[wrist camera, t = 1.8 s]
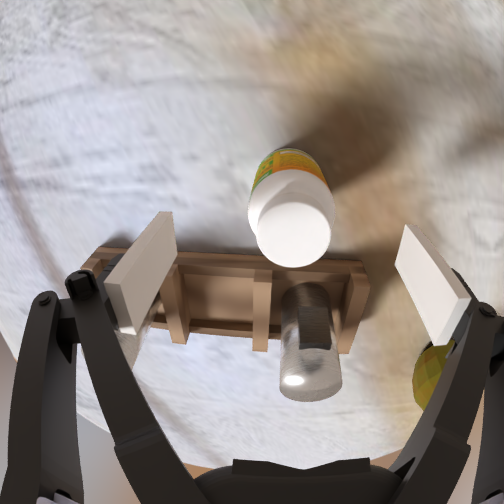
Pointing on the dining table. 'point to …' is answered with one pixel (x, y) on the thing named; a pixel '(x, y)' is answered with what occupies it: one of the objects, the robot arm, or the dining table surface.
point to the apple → (429, 372)
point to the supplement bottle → (291, 208)
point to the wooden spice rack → (247, 294)
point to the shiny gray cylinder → (308, 345)
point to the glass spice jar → (134, 342)
